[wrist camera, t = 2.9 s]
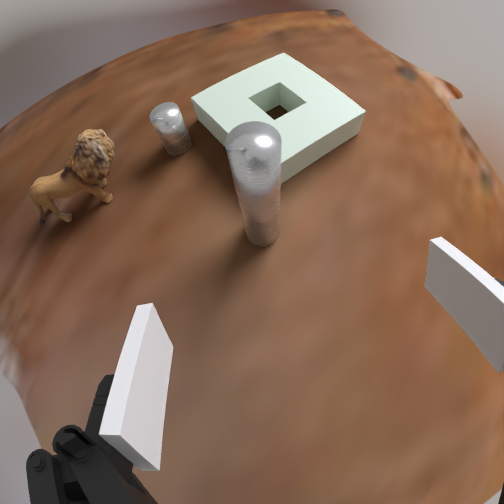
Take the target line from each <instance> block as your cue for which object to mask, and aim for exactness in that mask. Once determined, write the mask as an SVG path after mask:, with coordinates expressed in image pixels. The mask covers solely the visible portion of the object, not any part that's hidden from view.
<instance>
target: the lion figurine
mask: <svg viewBox="0 0 504 504" xmlns="http://www.w3.org/2000/svg"><path fill="white" fill-rule="evenodd" d="M114 152H115V151H114V144H113V141H111V140H110V139H109V138H108V137H107V135H106V133H105V132H104V131H103V130H102V129H98V130H92V129H87V130H85V131H84V132H83V133H81V134H80V135H79V136H78V138H77V143H76V144H75V149H74V150H73V152H72V155H71V157H70V159H69V161H68V162H67V164H66V166H65V168H64V169H63V170H61V171H59V172H58V173H56V174H54V175H51V176H44V177H40V178H38V179H37V180H36V181H35V182H34V183H33V185H32V186H31V188H30V192H29V193H30V197H31V199H32V200H33V202H34V203H35V204H36V206H37V207H38V209H39V211H40V214H41V219H40V226H41V225H42V224H44V222H45V215H44V211H43V209H42V207H41V206H43V207H45V208H48V209H49V210H51V211H52V212H53V214H54V215H55V216H57V217H59V218H61V219H62V220H64V221H65V222H70V221H71V220H72V214H71V213H66V214H64V213H62V212H60V211H59V210H58V208H57V203H56V202H54V199H55V198H69V197H73V196H76V195H78V194H79V193H81V192H82V191H84V190H86V191H88V192H90V193H92V194H93V195H95V196H97V197H98V198H99V199H100V200H102V201H103V202H105V203H110V202H111V201H112V199H113V196H112V194H111V193H109V194H108V193H106V192H103V190H102V188H103V187H104V186H106V184H107V180H106V179H105V178H106V177H107V176H108V175H109V173H110V170H109V168H110V165H111V163H112V160H113V157H114Z"/></svg>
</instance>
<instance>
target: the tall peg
mask: <svg viewBox="0 0 504 504" xmlns="http://www.w3.org/2000/svg"><path fill="white" fill-rule="evenodd" d="M225 147H226V151H227V155H228V160H229V164H230V168H231V172H232V176H233V180H234V185H235V189H236V193H237V197H238V201H239V205H240V210H241V214H242V218H243V222H244V226H245V231H246V235H247V238H248V239H249V241H250V242H251V243H252V244H254V245H256V246H260V247H265V246H269V245H271V244H272V243H274V242H275V241H276V239H277V237H278V235H279V216H280V186H281V149H282V140H281V136H280V134H279V132H278V131H277V130H276V129H275V128H274V127H273V126H271V125H270V124H267V123H264V122H260V121H250V122H245V123H242V124H240V125H238V126H236V127H235V128H233V129H232V130H231V131H230V132H229V134H228V135H227V137H226V141H225Z"/></svg>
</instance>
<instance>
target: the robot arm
mask: <svg viewBox="0 0 504 504" xmlns="http://www.w3.org/2000/svg"><path fill="white" fill-rule="evenodd" d="M424 287H425V288H426V289H427V290H428V291H429V292H430V293H431V295H432V296H433V297H434V298H435V299H436V300H437V301H438V302H439V303H440V304H441V305H442V307H443V308H444V309H445V310H446V311H447V312H448V313H449V314H450V316H451V317H452V318H453V319H454V320H455V321H456V322H457V324H458V325H459V326H460V327H461V328H462V329H463V331H464V332H465V333H466V334H467V335H468V336H469V338H470V339H471V340H472V341H473V342H474V344H475V345H476V346H477V347H478V349H479V350H480V351H481V352H482V354H483V355H484V356H485V357H486V359H487V360H488V361H489V362H490V364H491V365H492V366H493V368H494V369H495V370H496V372H497V373H500V372H501V371H503V370H504V282H503V281H501V280H499V279H497V278H495V279H494V278H493V277H492V276H490V275H489V274H488V273H487V272H486V271H484V270H483V269H482V268H481V267H480V266H478V265H477V264H476V263H475V262H473V261H472V260H471V259H470V258H468V257H467V256H466V255H465V254H463V253H462V252H461V251H459V250H458V249H457V248H455V247H454V246H453V245H452V244H450V243H449V242H448V241H446V240H445V239H443V238H442V237H439V238H435V239H431V240H430V242H429V253H428V263H427V271H426V279H425V286H424ZM172 354H173V345H172V343H171V341H170V339H169V337H168V335H167V333H166V331H165V329H164V327H163V325H162V322H161V320H160V318H159V316H158V314H157V312H156V309H155V307H154V305H153V303H149V304H144V305H138V306H137V308H136V311H135V314H134V316H133V319H132V322H131V325H130V328H129V331H128V334H127V337H126V340H125V343H124V346H123V349H122V352H121V356H120V359H119V362H118V365H117V369H116V372H115V374H114V375H106V376H105V377H104V378H103V380H102V381H101V382H100V384H99V385H98V389H97V392H96V395H95V396H96V398H94V402H93V406H92V408H91V412H90V415H89V419H88V422H87V426H86V429H85V432H84V431H83V430H82V429H81V428H80V427H78V426H75V425H67V426H65V427H63V428H61V429H60V430H59V431H58V432H57V433H56V435H55V437H54V439H53V444H52V445H53V450H54V451H55V452H56V453H57V455H53V456H52V455H51V454H50V453H49V452H47V451H46V450H43V449H37V450H35V451H33V452H32V453H31V454H30V455H29V457H28V459H27V463H26V471H27V479H28V488H29V495H30V502H31V504H158V503H157V502H156V501H155V500H154V498H153V497H152V496H151V495H150V494H149V492H148V491H147V490H146V489H145V487H144V486H143V485H142V483H141V482H140V481H139V479H138V478H137V477H136V475H134V474H133V473H132V468H133V465H134V466H136V467H137V468H138V469H139V470H146V471H160V458H161V447H162V436H163V426H164V416H165V407H166V399H167V391H168V383H169V375H170V368H171V361H172ZM498 504H504V484H503V488H502V492H501V496H500V499H499V503H498Z"/></svg>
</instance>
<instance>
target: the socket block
mask: <svg viewBox="0 0 504 504" xmlns="http://www.w3.org/2000/svg"><path fill="white" fill-rule="evenodd" d="M191 99H192V102H193V106H194V109H195V112H196V115H197V118H198V120H199V121H200V122H201V123H202V124H203V125H204V126H205V127H206V128H207V129H208V130H209V131H210V132H211V133H212V134H213V135H214V136H215V137H216V138H217V139H218V141H219V142H220V143H221V144H222V145H223V146H224V147H225V141H226V137H227V135H228V134H229V132H230V131H231V130H232V129H233V128H235V127H236V126H238V125H240V124H242V123H245V122H250V121H260V122H264V123H267V124H270V125H271V126H273V127H274V128H275V129H276V130H277V131H278V132H279V134H280V136H281V140H282V149H281V184H282V183H283V182H285V181H286V180H288V179H289V178H291V177H292V176H294V175H295V174H297V173H298V172H300V171H301V170H303V169H304V168H306V167H307V166H309V165H310V164H312V163H313V162H315V161H316V160H318V159H319V158H321V157H322V156H324V155H325V154H327V153H328V152H330V151H332V150H333V149H335V148H336V147H338V146H339V145H341V144H342V143H344V142H345V141H347V140H349V139H350V138H352V137H353V136H355V135H356V134H358V133H359V130H360V127H361V124H362V121H363V118H364V115H365V112H366V111H365V110H364V109H362V108H361V107H360V106H359V105H358V104H356V103H355V102H354V101H352V100H351V99H350V98H349V97H347V96H346V95H345V94H343V93H342V92H341V91H339V90H338V89H337V88H335V87H334V86H333V85H331V84H330V83H329V82H327V81H326V80H324V79H323V78H322V77H320V76H319V75H317V74H316V73H314V72H313V71H312V70H310V69H309V68H307V67H306V66H304V65H303V64H301V63H299V62H298V61H296V60H295V59H293V58H292V57H290V56H288V55H287V54H285V53H282V54H279V55H277V56H274V57H272V58H270V59H267V60H265V61H263V62H261V63H258V64H256V65H254V66H252V67H249V68H247V69H245V70H243V71H241V72H239V73H237V74H235V75H233V76H231V77H229V78H227V79H225V80H223V81H221V82H219V83H217V84H215V85H213V86H211V87H209V88H207V89H206V90H204V91H202V92H200V93H198V94H197V95H195V96H193V97H191ZM278 105H281V106H282V107H283V108H284V109H285V110H287V111H288V113H286V114H285V115H283V116H281V117H279V118H277V119H276V120H273V119H272V118H271V117H270V116H269V115H268V114H266V112H267V111H269V110H271V109H273V108H275V107H277V106H278ZM225 148H226V147H225Z"/></svg>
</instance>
